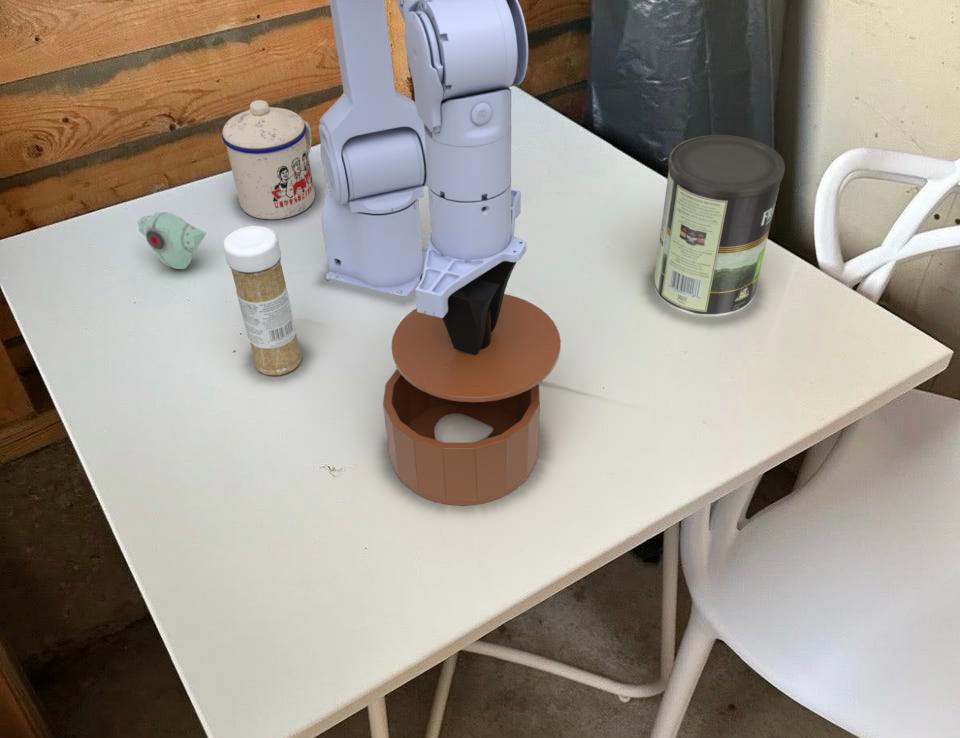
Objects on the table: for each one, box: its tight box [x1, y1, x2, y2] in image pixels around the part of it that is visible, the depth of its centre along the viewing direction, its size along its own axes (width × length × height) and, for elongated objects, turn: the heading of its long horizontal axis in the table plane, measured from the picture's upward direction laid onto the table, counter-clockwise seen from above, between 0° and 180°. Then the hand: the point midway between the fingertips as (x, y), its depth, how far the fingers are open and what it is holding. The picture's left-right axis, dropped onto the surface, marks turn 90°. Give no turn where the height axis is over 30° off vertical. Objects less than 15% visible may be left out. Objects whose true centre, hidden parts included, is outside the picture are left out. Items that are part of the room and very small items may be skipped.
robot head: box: [137, 211, 207, 270], centre depth 96 cm, size 8×4×7 cm, turn 65°
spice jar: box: [222, 225, 303, 376], centre depth 82 cm, size 5×5×13 cm
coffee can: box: [653, 134, 786, 317], centre depth 89 cm, size 10×10×14 cm
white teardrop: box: [434, 413, 493, 443], centre depth 77 cm, size 4×5×2 cm
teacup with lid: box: [221, 99, 316, 220], centre depth 104 cm, size 12×9×12 cm
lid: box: [391, 293, 562, 402], centre depth 73 cm, size 13×13×4 cm
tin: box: [382, 368, 541, 506], centre depth 76 cm, size 12×12×6 cm
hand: (474, 338), depth 73 cm, fingers closed on lid, 2 cm apart
